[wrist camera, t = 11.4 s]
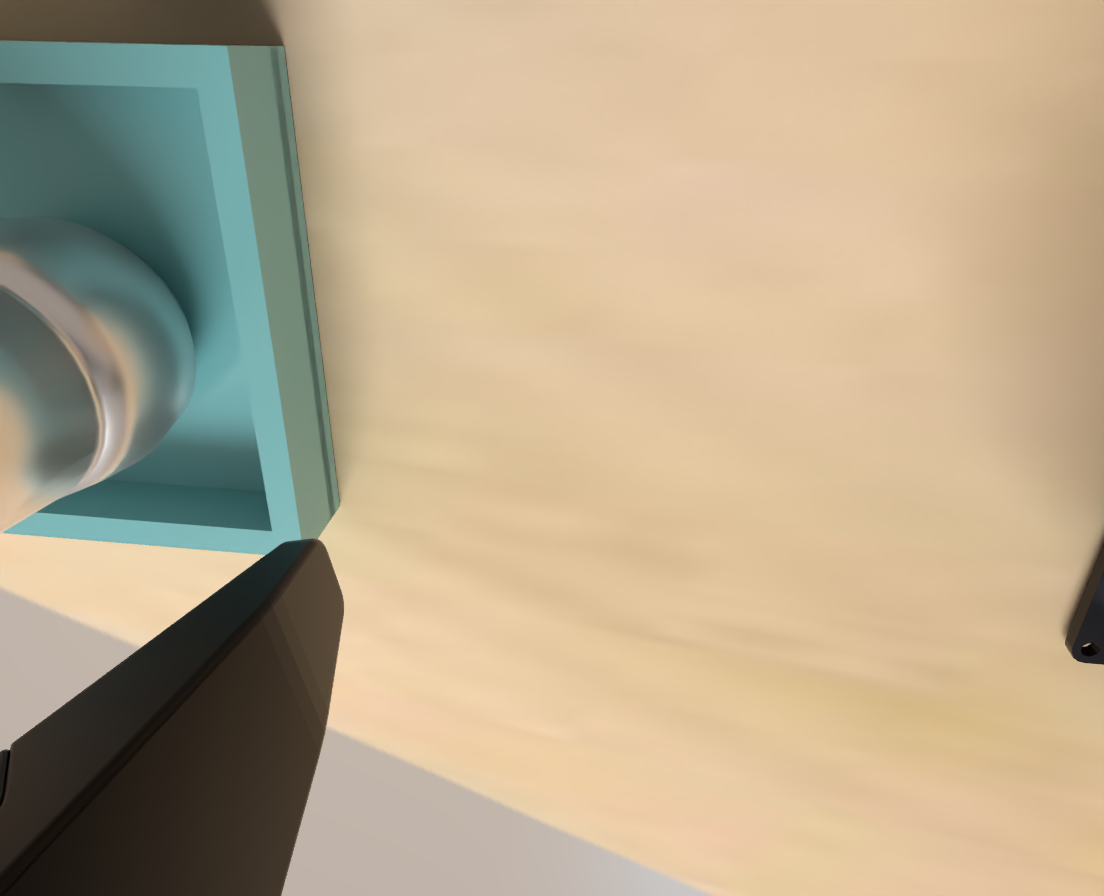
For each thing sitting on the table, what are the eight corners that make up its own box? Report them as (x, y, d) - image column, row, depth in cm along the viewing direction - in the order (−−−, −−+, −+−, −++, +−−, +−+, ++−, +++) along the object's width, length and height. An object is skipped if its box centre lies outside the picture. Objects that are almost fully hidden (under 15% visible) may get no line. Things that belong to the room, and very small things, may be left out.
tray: (339, 505, 24) (304, 558, 22) (-39, 476, 25) (-114, 523, 23) (283, 46, 19) (227, 45, 16) (-202, 35, 20) (-325, 34, 17)
